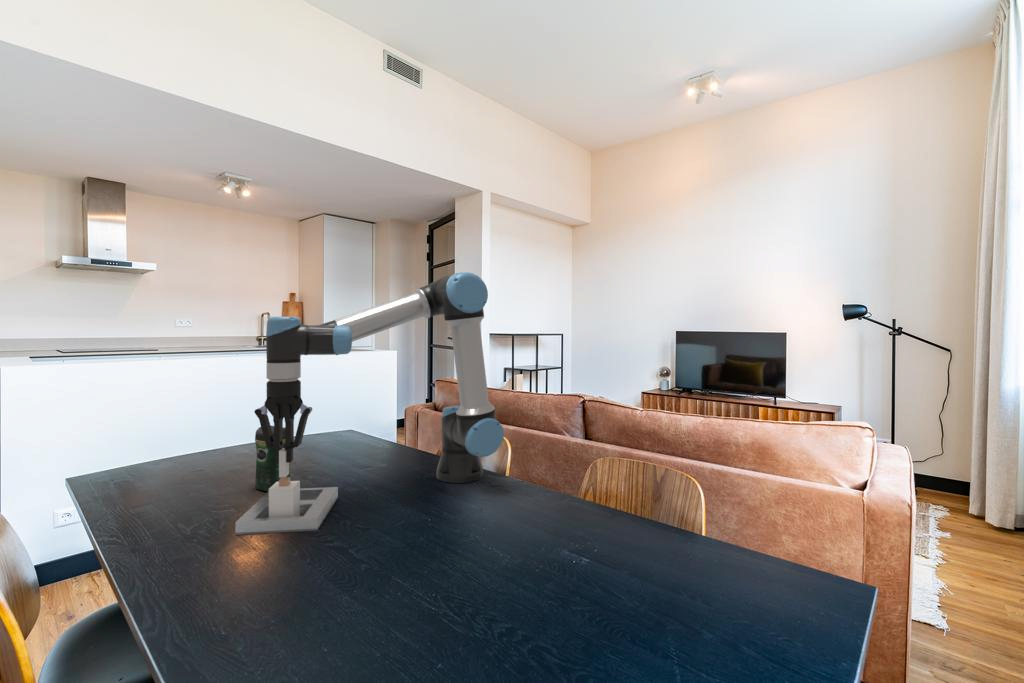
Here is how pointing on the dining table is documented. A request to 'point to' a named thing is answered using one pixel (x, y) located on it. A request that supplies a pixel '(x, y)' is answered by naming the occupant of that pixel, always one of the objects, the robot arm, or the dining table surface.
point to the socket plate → (311, 517)
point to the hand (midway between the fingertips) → (284, 475)
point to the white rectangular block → (284, 499)
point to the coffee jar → (266, 462)
